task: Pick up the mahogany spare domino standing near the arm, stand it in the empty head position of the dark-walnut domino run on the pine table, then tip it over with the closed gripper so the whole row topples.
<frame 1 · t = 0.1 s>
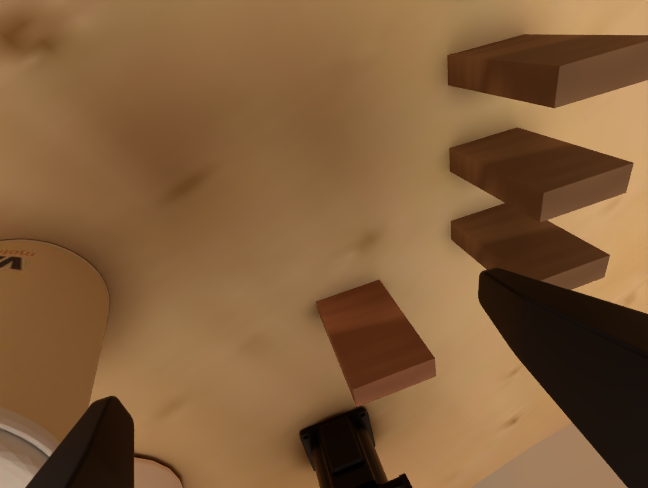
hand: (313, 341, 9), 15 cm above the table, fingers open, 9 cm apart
domino 2: (481, 220, 28), on the table
coffee cup: (36, 295, 22), on the table
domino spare: (349, 298, 28), on the table
domino 4: (486, 59, 22), on the table
domino 3: (483, 149, 25), on the table
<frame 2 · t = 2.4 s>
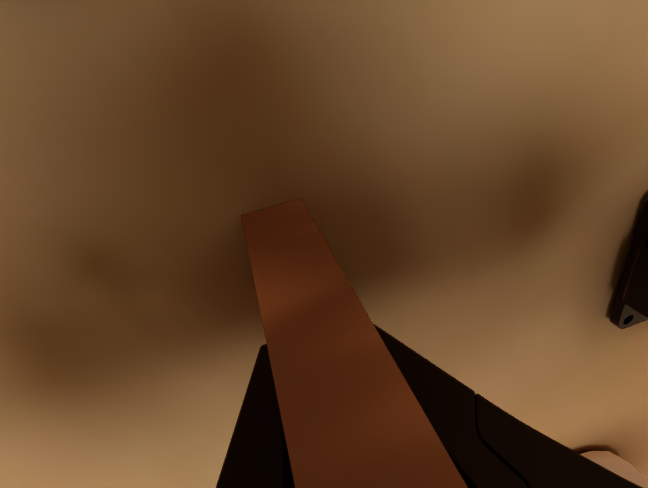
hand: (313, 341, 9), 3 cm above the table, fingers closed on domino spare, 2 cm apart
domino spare: (292, 281, 11), on the table, touching gripper
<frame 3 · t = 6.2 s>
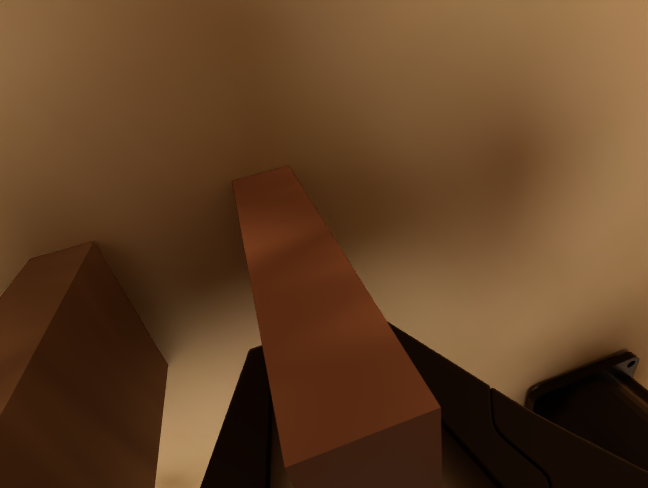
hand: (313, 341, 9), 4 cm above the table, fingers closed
domino 2: (107, 319, 11), on the table
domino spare: (281, 248, 12), on the table
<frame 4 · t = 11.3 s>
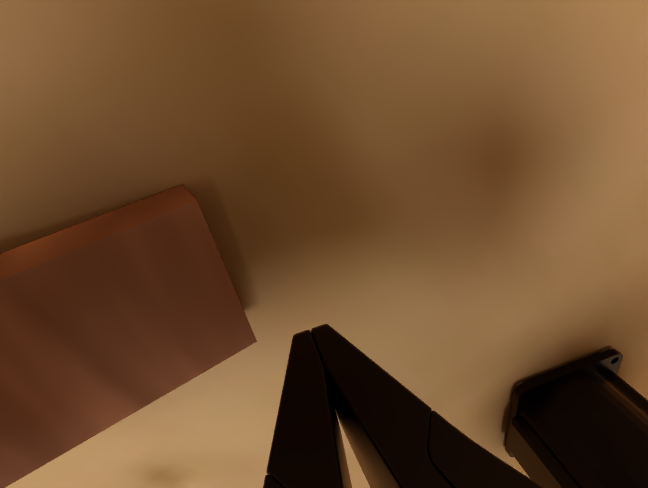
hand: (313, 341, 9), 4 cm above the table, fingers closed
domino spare: (221, 267, 11), point 1 cm above the table, tilted 74°, touching domino 2
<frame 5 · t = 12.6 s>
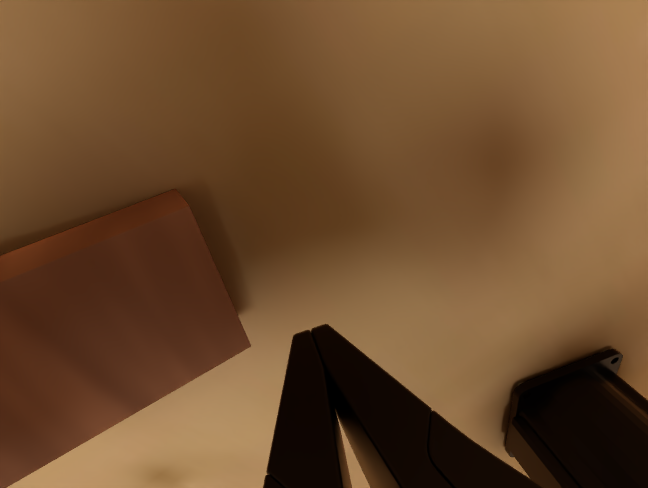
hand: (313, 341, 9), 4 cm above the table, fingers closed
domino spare: (215, 272, 11), point 1 cm above the table, tilted 74°, touching domino 2
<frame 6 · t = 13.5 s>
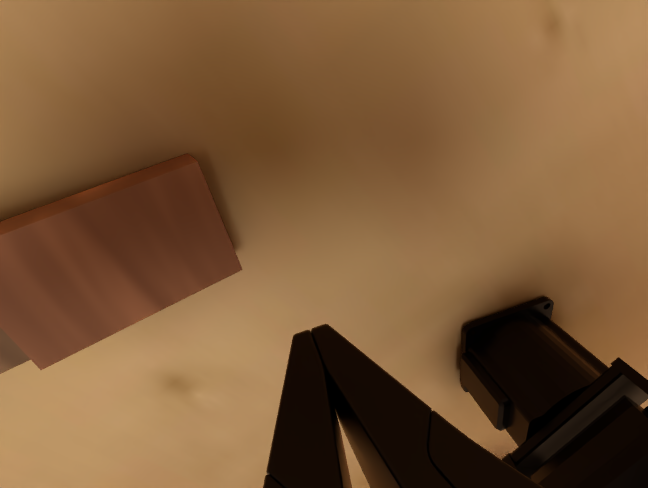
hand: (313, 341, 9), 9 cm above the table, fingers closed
domino 2: (77, 267, 15), point 1 cm above the table, tilted 75°, touching domino 3, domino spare
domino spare: (216, 214, 16), point 1 cm above the table, tilted 75°, touching domino 2
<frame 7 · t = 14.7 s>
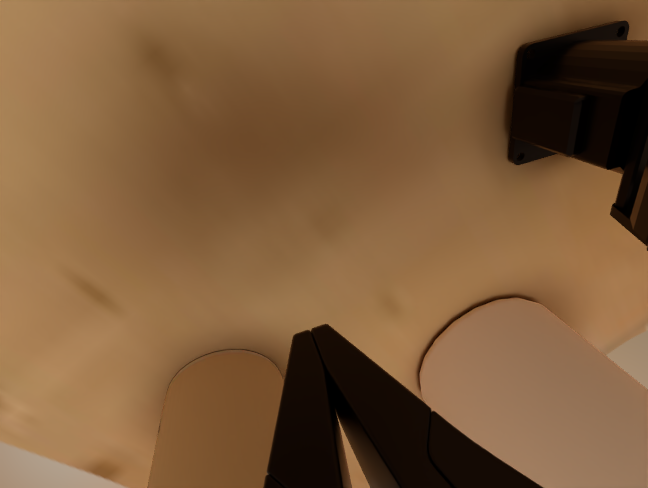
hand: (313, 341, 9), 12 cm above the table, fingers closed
white lidded jar: (481, 352, 32), on the table
coffee cup: (226, 388, 26), on the table
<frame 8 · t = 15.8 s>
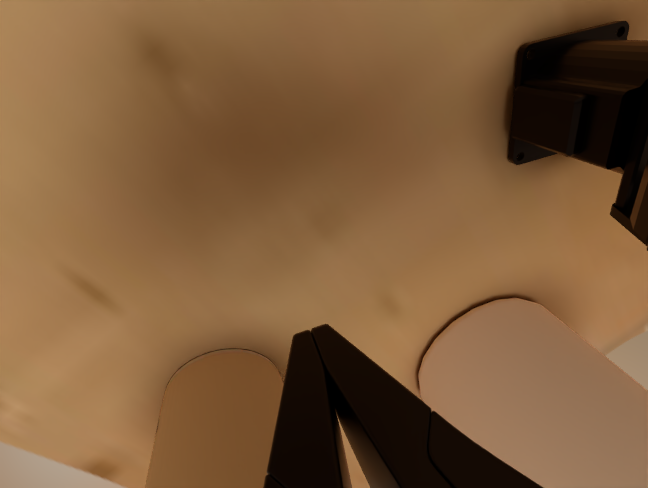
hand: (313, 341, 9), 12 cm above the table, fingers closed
white lidded jar: (480, 352, 32), on the table
coffee cup: (225, 388, 26), on the table
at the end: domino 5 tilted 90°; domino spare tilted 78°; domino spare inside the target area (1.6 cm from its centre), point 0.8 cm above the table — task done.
